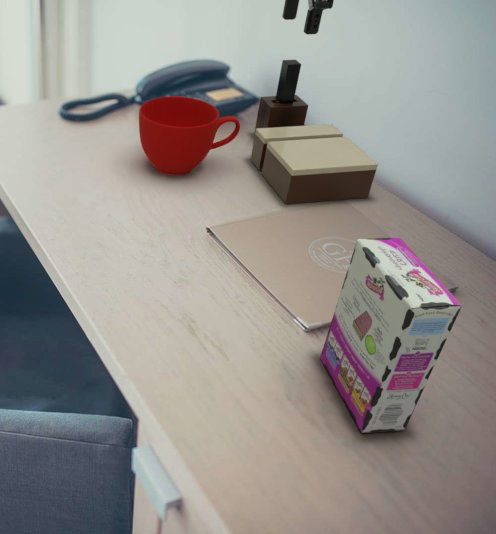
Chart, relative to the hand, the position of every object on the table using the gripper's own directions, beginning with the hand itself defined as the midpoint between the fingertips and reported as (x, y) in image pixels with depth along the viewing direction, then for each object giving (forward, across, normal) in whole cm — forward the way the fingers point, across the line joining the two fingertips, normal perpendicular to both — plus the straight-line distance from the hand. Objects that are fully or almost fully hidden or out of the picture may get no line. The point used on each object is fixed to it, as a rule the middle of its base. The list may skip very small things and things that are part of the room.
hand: (299, 26), depth 107 cm
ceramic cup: (+21, -8, +20) cm, 30 cm away
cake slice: (+20, -9, +1) cm, 22 cm away
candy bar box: (+21, -61, +16) cm, 66 cm away
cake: (+20, -18, +1) cm, 27 cm away
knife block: (+20, 0, 0) cm, 20 cm away
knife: (+20, 0, 0) cm, 20 cm away
